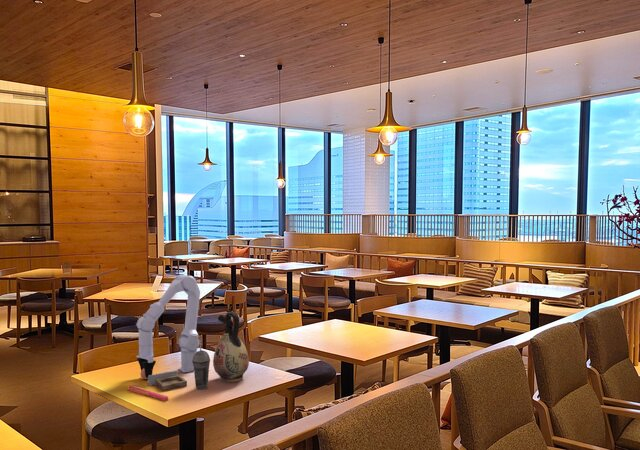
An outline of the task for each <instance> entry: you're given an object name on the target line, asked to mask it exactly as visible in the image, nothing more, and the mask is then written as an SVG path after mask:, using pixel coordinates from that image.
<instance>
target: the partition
mask: <svg viewBox="0 0 640 450" xmlns="http://www.w3.org/2000/svg"><path fill="white" fill-rule="evenodd" d="M177 375H178V370H175V369H174V370H171V371H164V372H160V373H155V374H154V373H153V374H152V375H148V379H147V380H148V382H147V385H148V386H149V387H152V386H155V385H156V380H157V379H162V378H167V377H172V376H177Z"/></svg>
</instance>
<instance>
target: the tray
mask: <svg viewBox="0 0 640 450" xmlns="http://www.w3.org/2000/svg"><path fill="white" fill-rule="evenodd" d="M155 386H156V387H157V388H159V389H160V390H161V391H162V392H167V391H171V390H177V389H182V388H186V387H187V386H188V381H187V380H186V379H184V378H183V377H182V376H181V375H179V374H177V376H172V377H167V378H162V379H157V380H156V384H155Z"/></svg>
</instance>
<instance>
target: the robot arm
mask: <svg viewBox="0 0 640 450" xmlns="http://www.w3.org/2000/svg"><path fill="white" fill-rule="evenodd" d="M198 285H199V284H198V280H197V279H196V278H195V277H194V276H192V275H185V274H178V275H176V276H175V278H174V279H173V280H172V281H171V284H170V286H169V287H168V288H166V289H167V290H166V291H165V292H164V293H163V295H162V296H161V297H160V299H158V300H159V301H157V302H153V304H152V303H151V304H150V305H149V309H148V310H147V311H146V312H145V313H143V314H142V316H141V317H139V319H138V320H137V322H136V323H135V326H136V328H137V330H138V355H136V360H137V362H138V365H139V366H140V367H139V368H140V372H141V371H142V369H144V370H145V376H146V378H148V375H153V373H152V372H153V370H154V367H155V365H156V363H157V361H156V360H154V345H153V344H154V343H153V335H154V334H153V329H154V328H155V324H156V322H157V320H158V319H159V318H160V317H161V315H162V314H163V313H164V312H165V306H166V305H168V303H169V302H170V300H172V298H173V297H174V296H175V295H176V294H178V293H181V292H184V293H185V294H187V301H186V302H187V303H186V309H185V310H186V311H185V319H184V321H185V322H184V326H183V327H184V328H183V330H182V331H181V334H180V337H179V338H178V345H179V347H180V360H181V361H180V365H181V366H180V367H178V370H180V371H181V372H183V373H188V372H190V373H191V372H194V367H193V362H192V360H193V356H194V354H195V353H196V352H198V351H200V339H199V333H198V332H197V326H198V324H197V323H198V316H199V315H198V314H199V305H200V297H201V290H200V288H199V286H198Z"/></svg>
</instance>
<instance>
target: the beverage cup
mask: <svg viewBox="0 0 640 450" xmlns="http://www.w3.org/2000/svg"><path fill="white" fill-rule="evenodd" d="M201 342H202V340H201V339H199V349H200V351H198V352H196V353H195V354H194V356H193V360H192V362H193V367H194V371H193V373H194V374H193V375H194V383H195V388H196V389H195V390H196V391H205V390H208V385H209V371H210V362H211V357H210V354H209V353H208V352H207V351H206V350H202V343H201Z"/></svg>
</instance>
